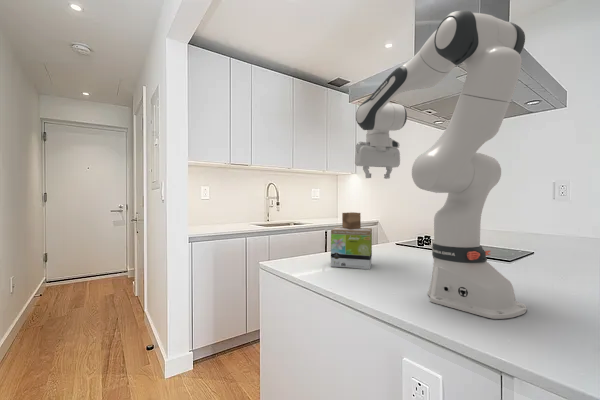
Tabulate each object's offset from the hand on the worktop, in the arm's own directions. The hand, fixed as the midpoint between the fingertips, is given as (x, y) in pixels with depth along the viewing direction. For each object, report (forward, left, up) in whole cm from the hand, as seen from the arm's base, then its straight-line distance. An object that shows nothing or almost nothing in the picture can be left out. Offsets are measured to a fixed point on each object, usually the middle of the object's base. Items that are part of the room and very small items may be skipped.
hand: (377, 178), depth 122 cm
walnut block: (+4, +10, -19) cm, 22 cm away
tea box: (+4, +10, -34) cm, 36 cm away
